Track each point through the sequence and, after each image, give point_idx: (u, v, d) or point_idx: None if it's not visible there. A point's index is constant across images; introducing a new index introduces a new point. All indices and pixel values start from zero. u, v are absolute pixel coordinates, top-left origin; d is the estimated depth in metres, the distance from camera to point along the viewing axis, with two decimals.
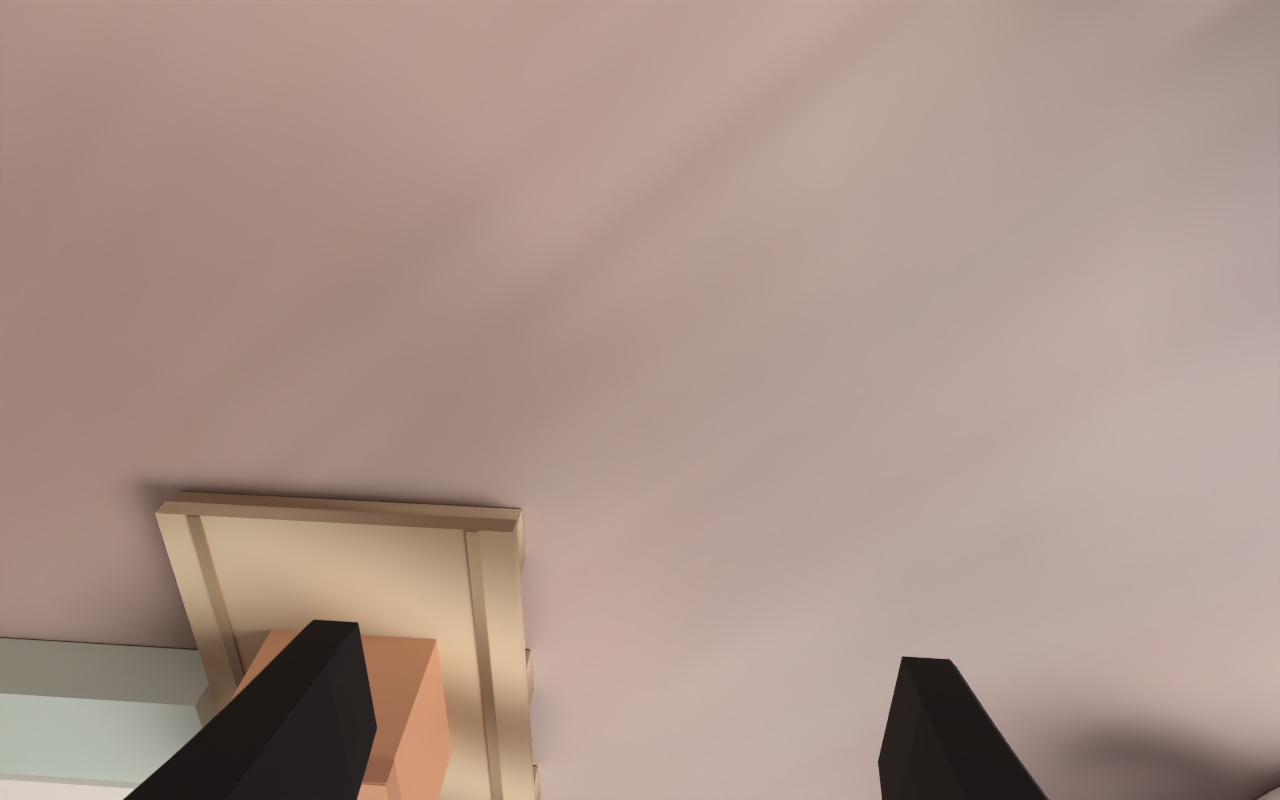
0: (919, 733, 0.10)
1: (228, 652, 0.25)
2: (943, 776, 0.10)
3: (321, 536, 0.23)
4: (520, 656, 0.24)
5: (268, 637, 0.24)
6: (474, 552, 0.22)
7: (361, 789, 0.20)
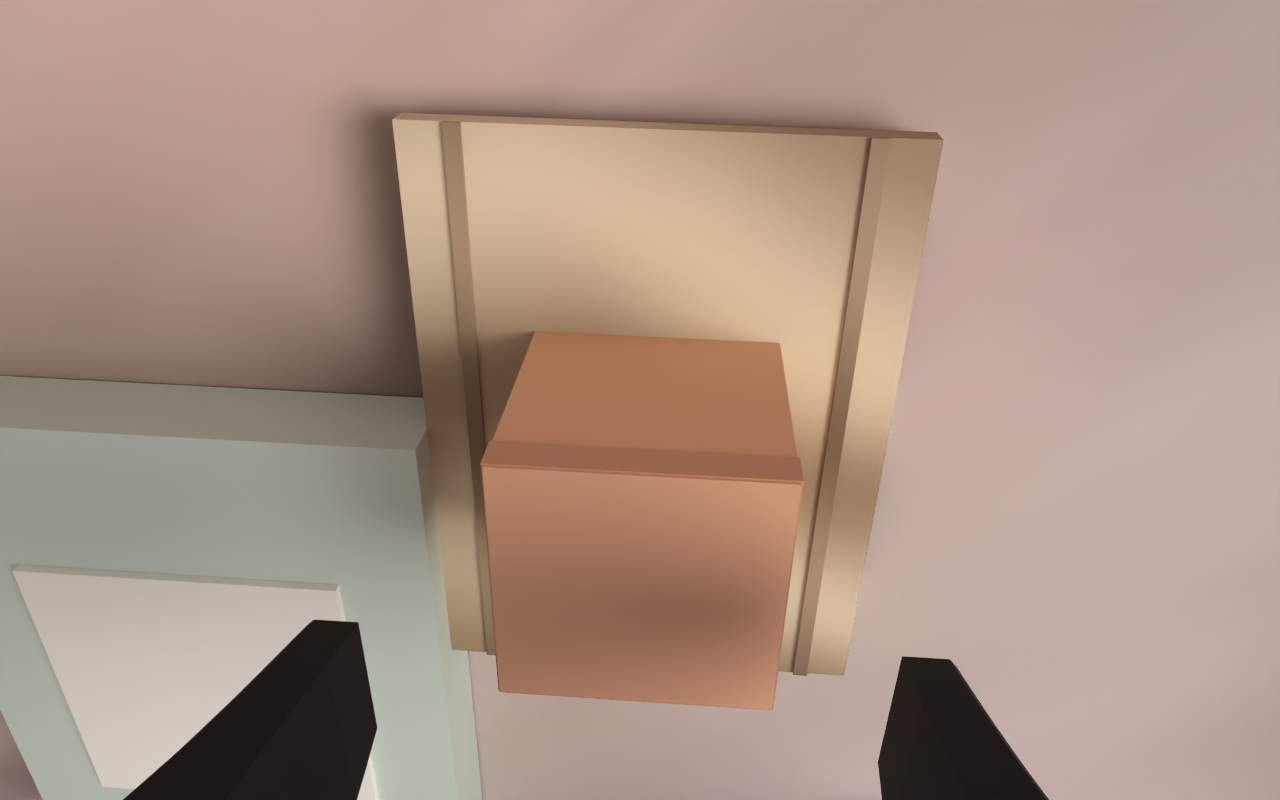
0: (919, 733, 0.10)
1: (465, 372, 0.17)
2: (943, 776, 0.10)
3: (642, 156, 0.15)
4: (898, 371, 0.17)
5: (534, 338, 0.16)
6: (874, 179, 0.15)
7: (760, 493, 0.13)
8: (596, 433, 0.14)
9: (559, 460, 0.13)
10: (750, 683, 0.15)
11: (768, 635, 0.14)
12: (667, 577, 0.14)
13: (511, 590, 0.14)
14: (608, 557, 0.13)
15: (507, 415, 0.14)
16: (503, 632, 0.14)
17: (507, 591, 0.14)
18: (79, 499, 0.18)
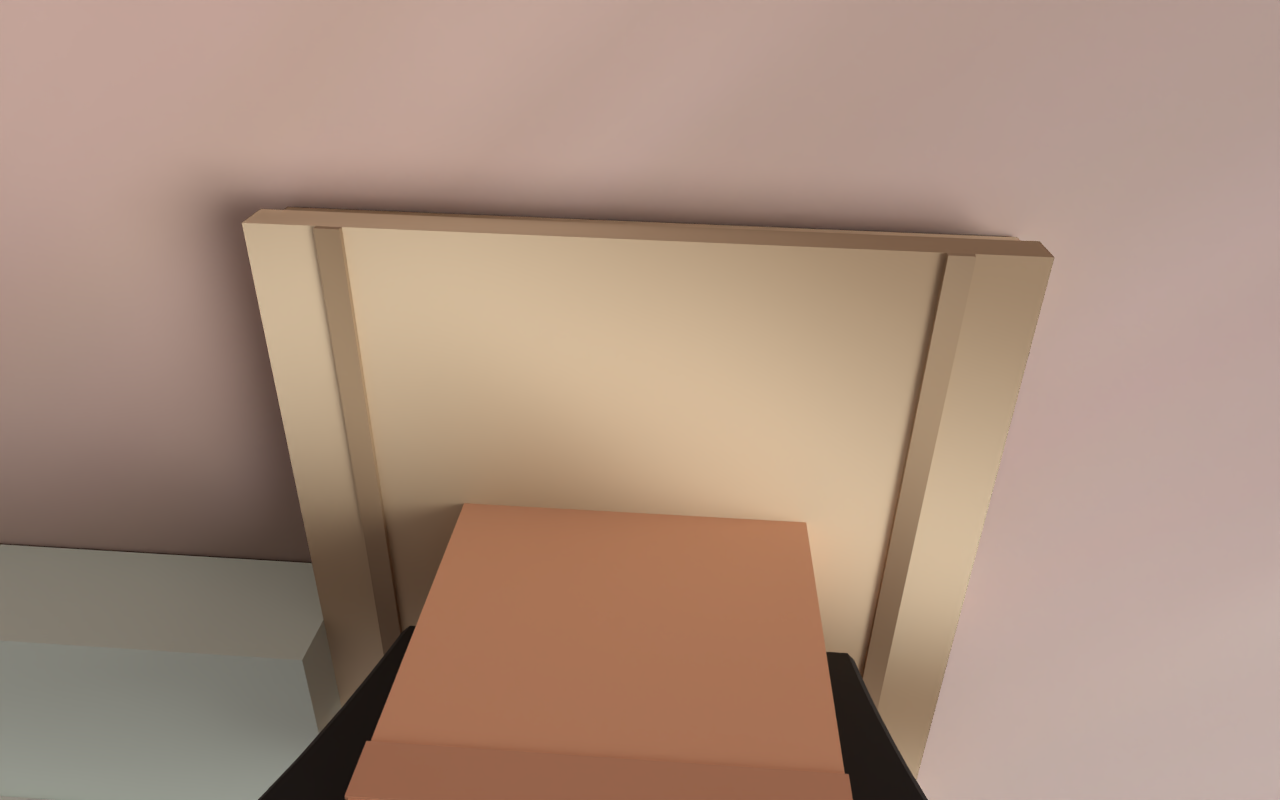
0: None
1: (371, 553, 0.12)
2: None
3: (608, 276, 0.10)
4: (971, 559, 0.12)
5: (461, 516, 0.12)
6: (949, 311, 0.10)
7: None
8: (535, 719, 0.09)
9: (471, 786, 0.08)
10: None
11: None
12: None
13: None
14: None
15: (402, 680, 0.09)
16: None
17: None
18: None
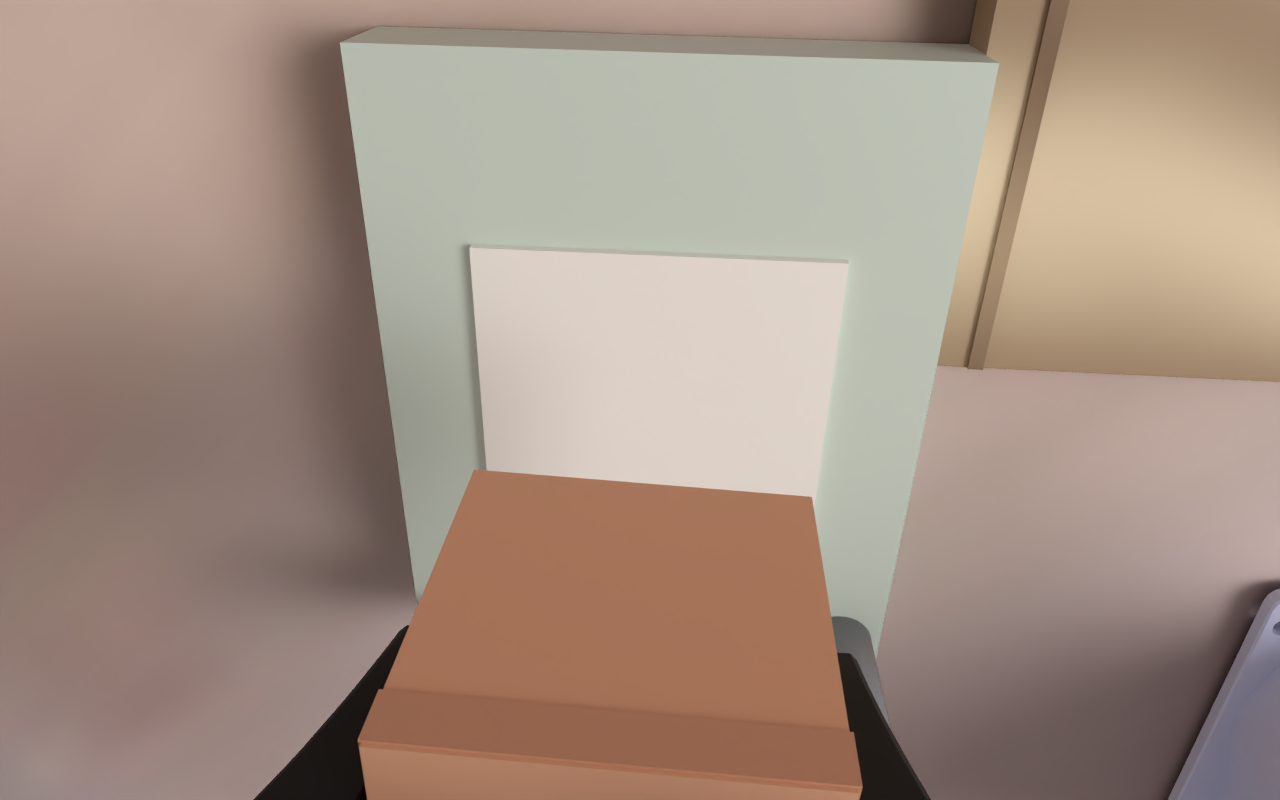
0: None
1: None
2: None
3: None
4: None
5: (471, 482, 0.12)
6: None
7: None
8: (544, 675, 0.09)
9: (482, 734, 0.08)
10: None
11: None
12: None
13: None
14: None
15: (414, 633, 0.09)
16: None
17: None
18: (570, 148, 0.16)
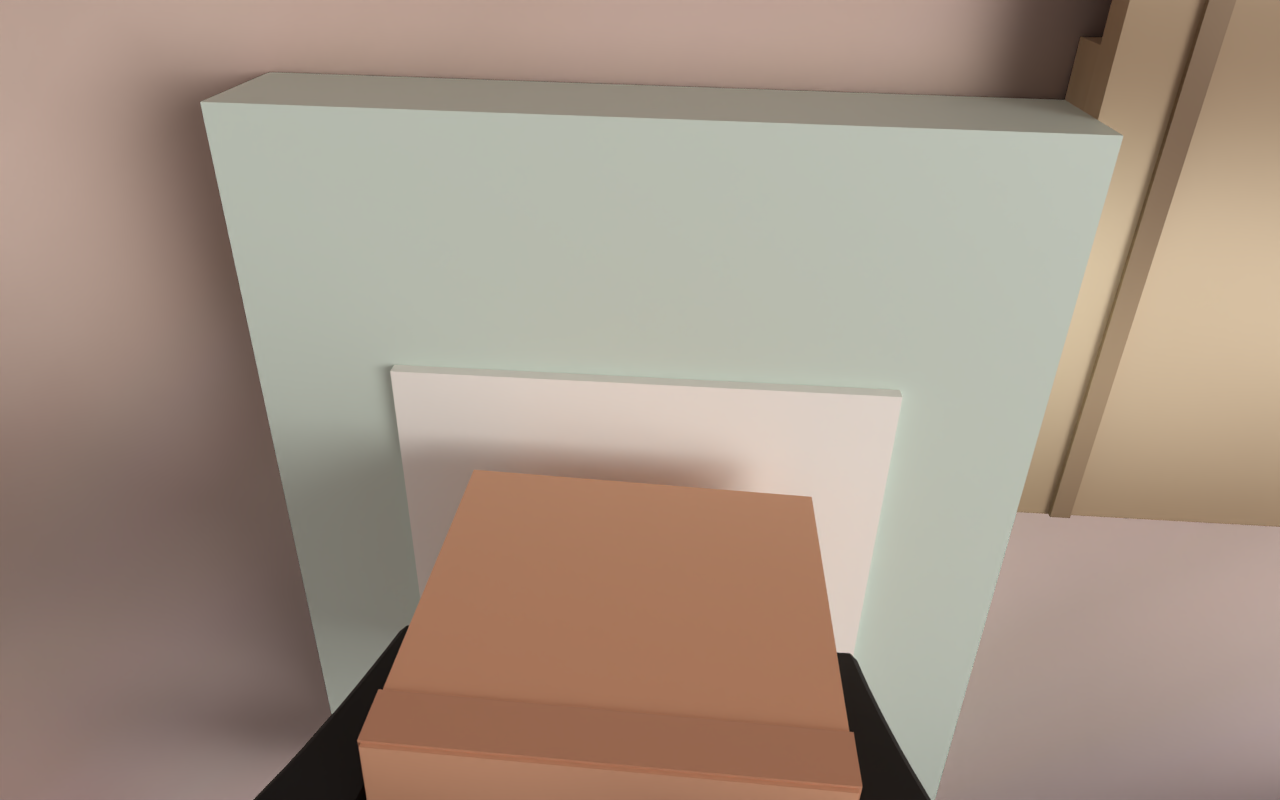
0: None
1: (1213, 3, 0.10)
2: None
3: None
4: None
5: (471, 482, 0.12)
6: None
7: None
8: (544, 675, 0.09)
9: (482, 734, 0.08)
10: None
11: None
12: None
13: None
14: None
15: (414, 633, 0.09)
16: None
17: None
18: (522, 244, 0.12)
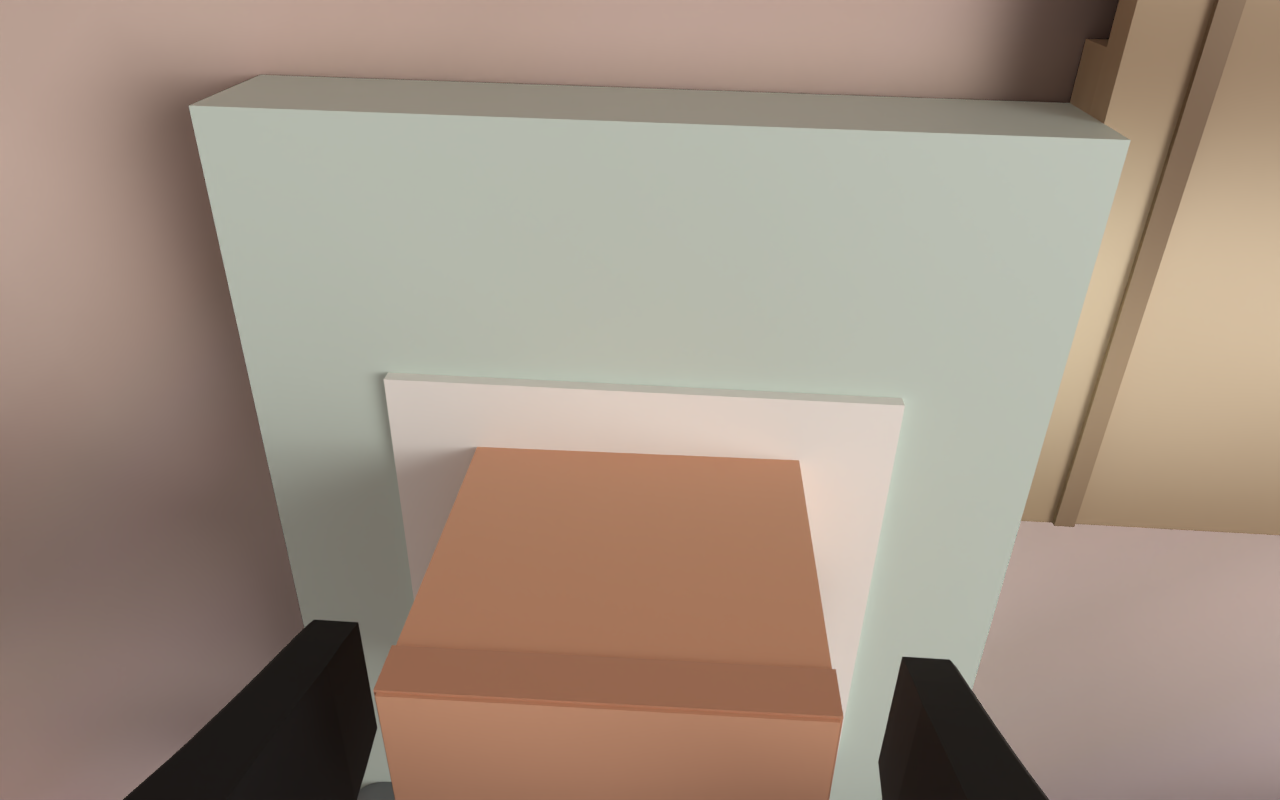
0: (919, 733, 0.10)
1: (1222, 5, 0.10)
2: (943, 776, 0.10)
3: None
4: None
5: (475, 458, 0.12)
6: None
7: (780, 731, 0.09)
8: (546, 627, 0.10)
9: (488, 680, 0.09)
10: None
11: None
12: None
13: None
14: None
15: (423, 595, 0.10)
16: None
17: None
18: (518, 250, 0.11)
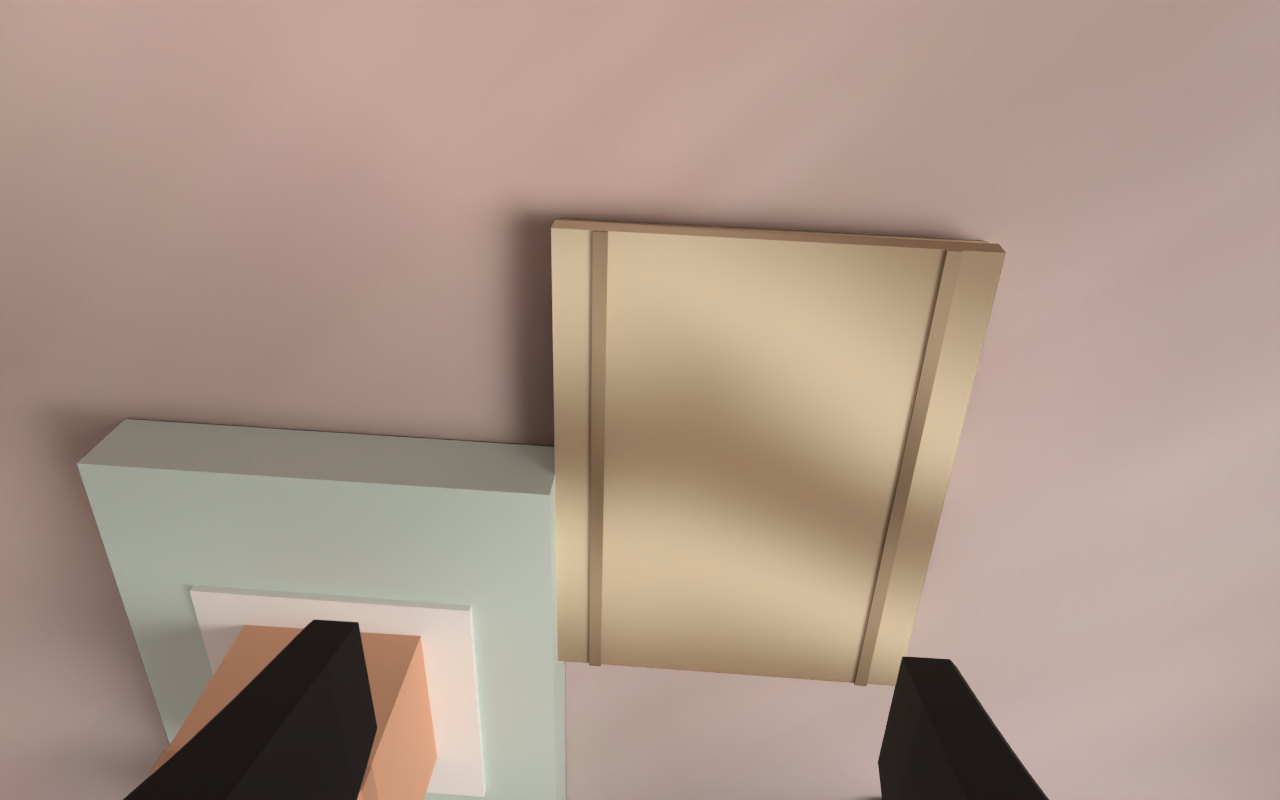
0: (919, 733, 0.10)
1: (593, 429, 0.20)
2: (943, 776, 0.10)
3: (756, 260, 0.18)
4: (959, 434, 0.20)
5: (241, 633, 0.23)
6: (947, 282, 0.18)
7: None
8: None
9: None
10: None
11: None
12: None
13: None
14: None
15: (187, 722, 0.20)
16: None
17: None
18: (254, 531, 0.22)
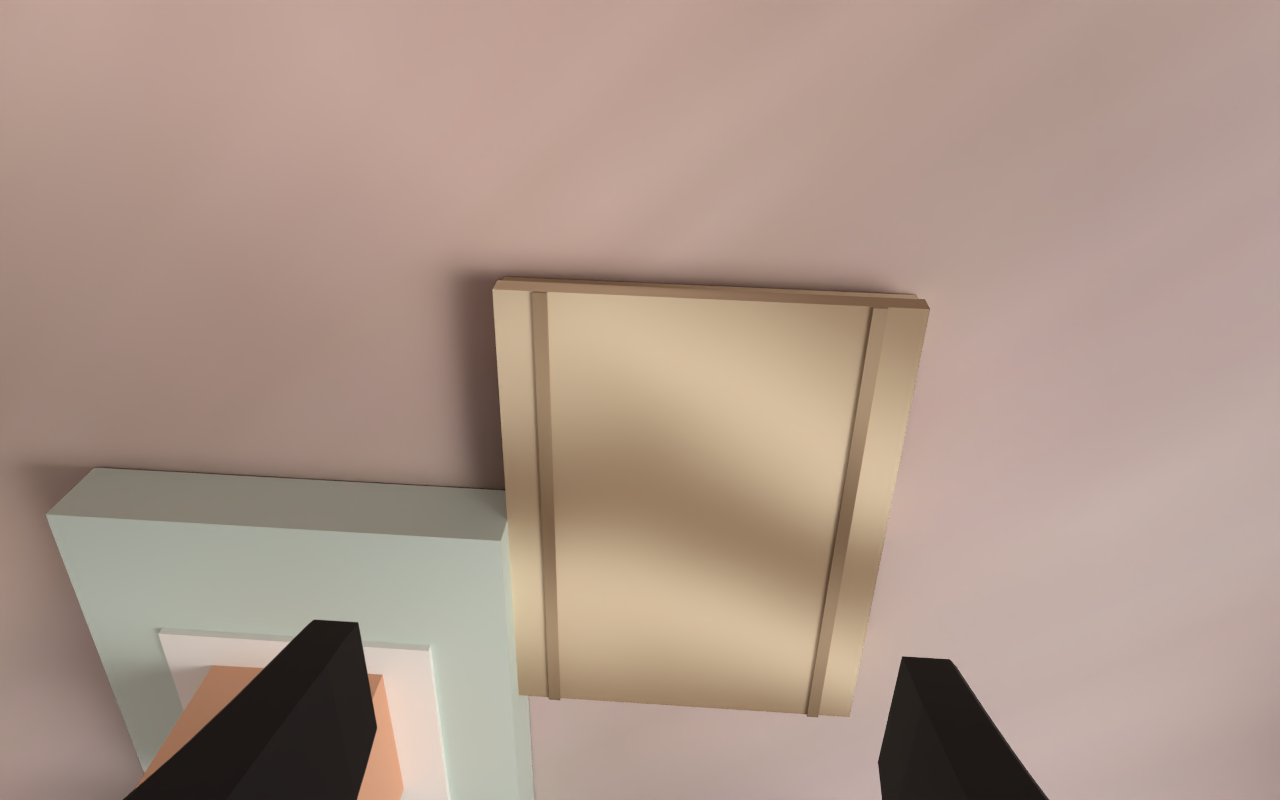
0: (919, 733, 0.10)
1: (542, 477, 0.21)
2: (943, 776, 0.10)
3: (691, 318, 0.19)
4: (894, 479, 0.20)
5: (209, 673, 0.23)
6: (875, 337, 0.19)
7: None
8: None
9: None
10: None
11: None
12: None
13: None
14: None
15: (153, 764, 0.21)
16: None
17: None
18: (219, 577, 0.22)
